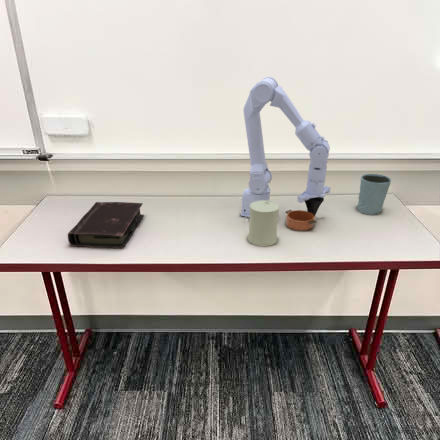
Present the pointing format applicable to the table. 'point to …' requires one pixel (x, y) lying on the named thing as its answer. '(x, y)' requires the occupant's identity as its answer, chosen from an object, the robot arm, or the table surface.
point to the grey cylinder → (372, 193)
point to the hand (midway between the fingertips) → (311, 217)
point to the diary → (106, 225)
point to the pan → (300, 220)
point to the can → (263, 223)
